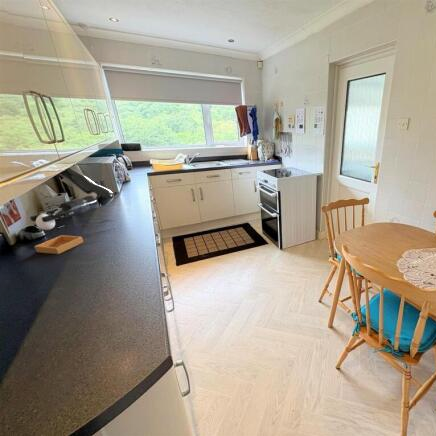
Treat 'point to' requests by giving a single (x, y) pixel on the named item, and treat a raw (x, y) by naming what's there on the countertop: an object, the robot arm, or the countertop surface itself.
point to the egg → (44, 223)
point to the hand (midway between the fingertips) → (37, 219)
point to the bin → (59, 244)
